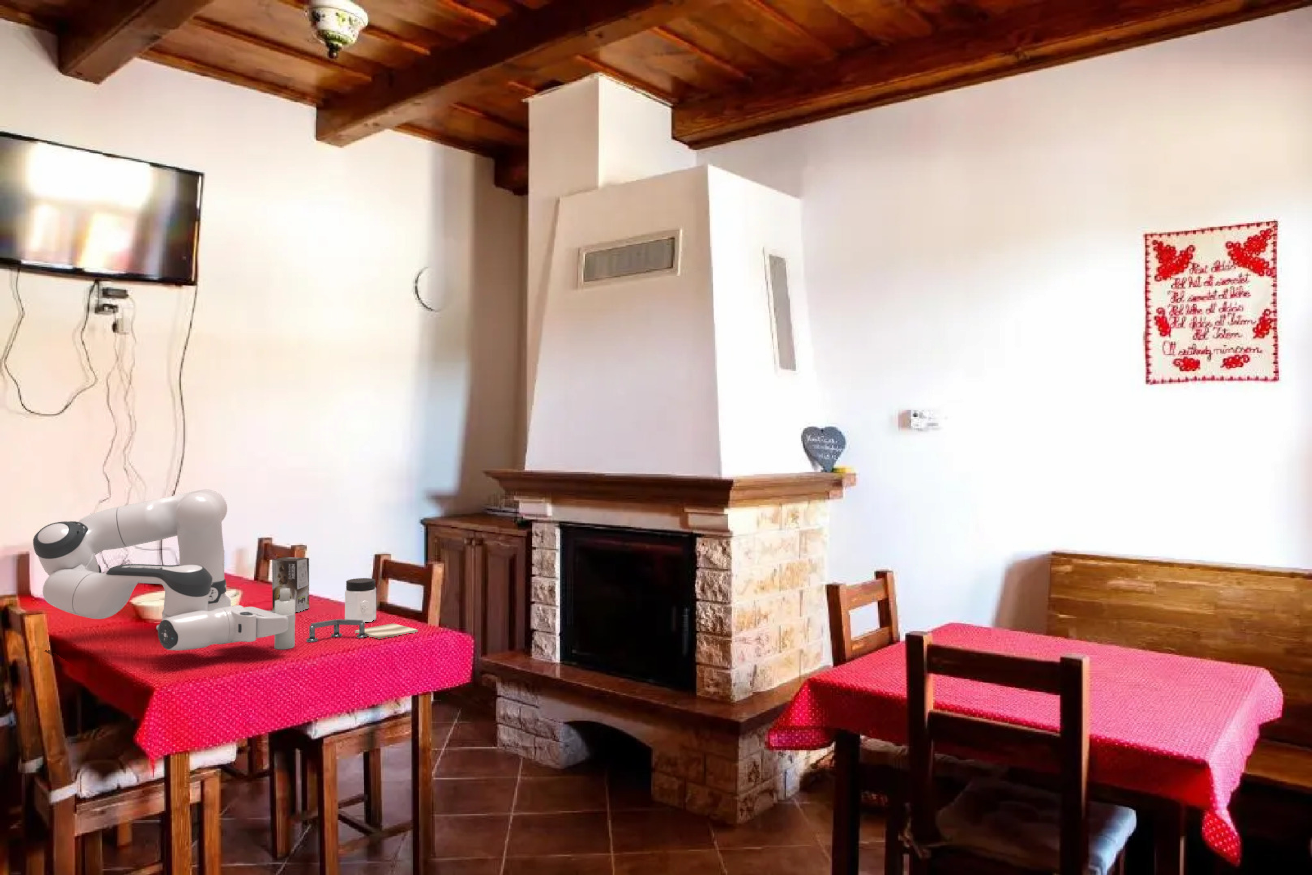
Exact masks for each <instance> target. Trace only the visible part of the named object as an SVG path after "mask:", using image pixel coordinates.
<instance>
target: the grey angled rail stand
mask: <svg viewBox="0 0 1312 875" xmlns="http://www.w3.org/2000/svg"><path fill="white" fill-rule="evenodd" d="M330 626H333V633H330V634H331V635H330V637H331V638H332V637H339V638H342V637H343V633H341V632H340V626H358V630H359V634H357V635H355V636H356V637H358V638H363V637H367V634H365V628H366V627H365V626H366V623H365V622H363V620H348V619H345V618H343V619H341V618H337V619H336V618H335V619H330V620H323V621H317V622H312V623H310V625H309V628H308V631H309V634H308V638H306V643H316V642H318V641H319V640H318V639H319V638H318V637H316V629H318V628H325V627H330ZM341 636H342V637H341ZM356 637H355V638H356ZM358 638H357V639H358ZM367 638H368V637H367ZM363 639H364V638H363Z"/></svg>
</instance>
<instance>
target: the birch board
mask: <svg viewBox="0 0 1312 875" xmlns="http://www.w3.org/2000/svg"><path fill="white" fill-rule="evenodd" d="M418 630H419V629H416V628H413V627H409V626H405V625H403V624H402V625H401V624H397V623H387V624H383V625H376V626H371V627H370V626H369V627H365V634H367V636H369V637H368V638H370V637H375V638H378V639H381V638H385V637H392V638H395V637H394V636H397V637H399V636H398V635H402V634H406V633H413V634H416V633H415V632H418ZM354 633H355V634H356V633H359V629H355V630H354ZM418 633H419V632H418ZM402 636H403V635H402Z"/></svg>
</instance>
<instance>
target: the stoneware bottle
mask: <svg viewBox="0 0 1312 875" xmlns="http://www.w3.org/2000/svg"><path fill="white" fill-rule="evenodd" d="M275 613H276V614H280V615H286V614H295V615H296V612H295V599H290V588H282V589H280V599H279V600H276V601H275ZM295 636H296V620H295V621H292V622H288V630H287V631H285V632H283V633H280V634H276V635H274V649H275V650H288V649H289V650H290V649H293V648H295V647H294V646H296V645H295V644H296V642H295V641H296V637H295Z"/></svg>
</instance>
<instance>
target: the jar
mask: <svg viewBox="0 0 1312 875" xmlns="http://www.w3.org/2000/svg"><path fill="white" fill-rule="evenodd" d="M345 582H346V583H345V585H346V586H345V587H346V588H345V590H344V619H348V620H363V622H372V621H373V620H374V621H376V620H377V587H376V579H375V578H372V577H371V578H369V577H368V578H367V577H363V578H362V577H360V578H359V577H358V578H351V579H347V580H346V581H345ZM374 621H373V622H374ZM373 622H372V623H373Z"/></svg>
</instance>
